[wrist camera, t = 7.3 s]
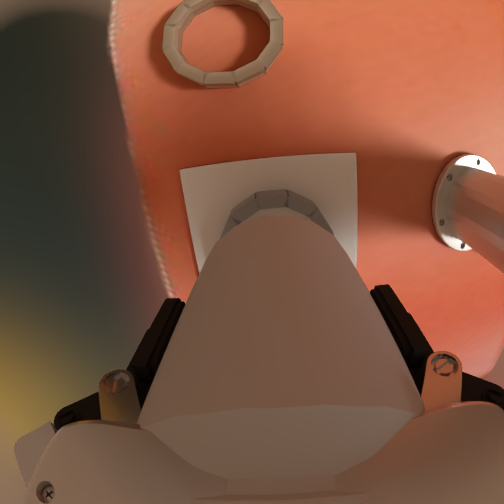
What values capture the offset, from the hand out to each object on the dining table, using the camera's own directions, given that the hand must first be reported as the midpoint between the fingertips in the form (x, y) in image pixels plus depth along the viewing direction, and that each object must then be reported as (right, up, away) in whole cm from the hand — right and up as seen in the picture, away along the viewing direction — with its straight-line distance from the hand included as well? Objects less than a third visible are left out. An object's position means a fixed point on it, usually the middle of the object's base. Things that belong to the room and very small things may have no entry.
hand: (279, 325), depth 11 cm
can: (0, +2, +4) cm, 4 cm away
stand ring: (-4, +24, +11) cm, 27 cm away
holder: (+1, +4, +19) cm, 20 cm away
